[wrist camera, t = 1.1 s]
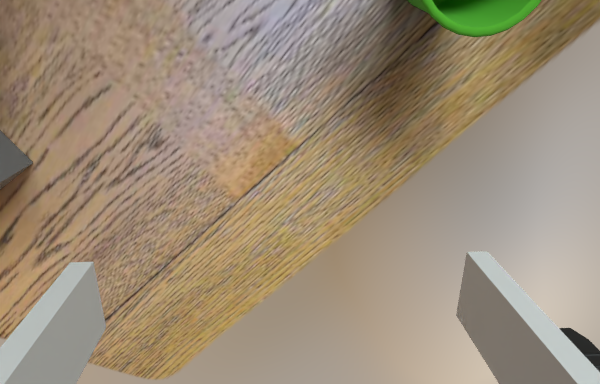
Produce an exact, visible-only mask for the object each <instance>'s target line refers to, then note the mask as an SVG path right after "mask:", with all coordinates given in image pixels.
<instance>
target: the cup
mask: <svg viewBox="0 0 600 384" xmlns="http://www.w3.org/2000/svg"><path fill="white" fill-rule="evenodd" d="M407 1H408V2H409V3H410V4H412V5H413V6H415V7H417V8H419V9H421V10H423V11H425V12H427V13H429V14H430V16H431V17H432V18H433V19H435V20H436V21H437V22H438V23H439V24H440V25H441V26H442V27H444V28H446V29H448V30H450V31H452V32H454V33H456V34H458V35H464V36H470V37H481V36H491V35H494V34H497V33H500V32H502V31H505V30H508V29H509V28H511V27H513V26H514V25H516V24H517V23H519V22H520V21H522V20H524V19H525V18H526V17H527V16H528V15H529V14H530V13H531V12H532V11H533V10H534V9H535V8H536V7H537V6H538V4H539V3H540V1H541V0H407Z"/></svg>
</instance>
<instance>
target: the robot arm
mask: <svg viewBox="0 0 600 384" xmlns="http://www.w3.org/2000/svg"><path fill="white" fill-rule="evenodd" d="M456 316H457V317H458V319H459V320H460V322H461V324H462V325H463V326H464V328H465V330H466V331H467V333H468V334H469V336H470V338H471V339H472V341H473V343H474V344H475V346H476V347H477V349H478V351H479V352H480V354H481V355H482V357H483V359H484V360H485V362H486V363H487V365H488V367H489V368H490V370H491V371H492V373H493V375H494V376H495V378H496V379H497V381H498V383H499V384H600V351H599V350H598V349H597V348H596V347H595V346H594V345H593V344H592V343H591V342H590V341H589V340H588V339H586V338H585V337H584V336H582V335H580V334H579V333H577V332H576V331H574V330H573V329H571V328H558V327H557V326H556V325H555V324H554V322H553V321H552V320H551V319H550V318H549V317H548V316H547V315H546V314H545V313H544V312H543V311H542V310H541V308H539V306H537V304H536V303H535V302H534V301H533V300H532V299H531V298H530V297H529V296H528V295H527V293H526V292H525V291H524V290H523V289H522V288H521V287H520V286H519V285H518V284H517V283H516V282H515V281H514V279H512V277H511V276H510V275H509V274H508V273H507V272H506V271H505V270H504V269H503V268H502V267H501V266H500V264H499V263H498V262H497V261H496V260H495V259H494V258H493V257H492V256H491V255H490V254H489V253H488V252H467V255H466V261H465V267H464V272H463V278H462V284H461V290H460V297H459V302H458V308H457V314H456ZM105 329H106V324H105V319H104V314H103V309H102V304H101V298H100V293H99V288H98V283H97V278H96V273H95V268H94V263H93V262H70V263H69V265H68V266H67V267H66V268H65V270H64V271H63V272H62V273H61V274H60V276H59V277H58V278H57V279H56V280H55V282H54V283H53V284H52V285H51V287H50V288H49V289H48V290H47V291H46V293H45V294H44V295H43V296H42V297H41V299H40V300H39V301H38V302H37V304H36V305H35V306H34V307H33V308H32V310H31V311H30V312H29V313H28V314H27V316H26V317H25V318H24V319H23V321H22V322H21V323H20V324H19V325H18V327H17V328H16V329H15V330H14V331H13V333H12V334H11V335H10V336H9V338H8V339H7V340H6V341H5V342H4V344H3V345H2V346H1V347H0V384H76V382H77V381H78V379H79V377H80V375H81V373H82V372H83V369H84V368H85V366H86V364H87V362H88V360H89V358H90V357H91V355H92V353H93V351H94V349H95V347H96V345H97V344H98V342H99V340H100V338H101V336H102V334H103V332H104V330H105Z"/></svg>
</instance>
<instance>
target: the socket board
mask: <svg viewBox="0 0 600 384" xmlns="http://www.w3.org/2000/svg"><path fill="white" fill-rule="evenodd" d="M32 163H33V162H32V161H31V160H30V159H29V158H28V157H27V156H26V155H25V154H24V153H23V152H22V151H21V150H20V149H19V148H18V147H17V146H16V145H15V144H14V143H13V142H12V141H11V140H10V139H9V138H7V137H6V136H5V135H4V134H3V133H2V132H1V131H0V189H1V188H3V187H4V186H5V185H6V184H8V183H9V182H10V181H11V180H12V179H14V178H15V177H16V176H17V175H19V174H20V173H21V172H22V171H24V170H25V169H26V168H27V167H29V166H30V165H31V164H32Z"/></svg>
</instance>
